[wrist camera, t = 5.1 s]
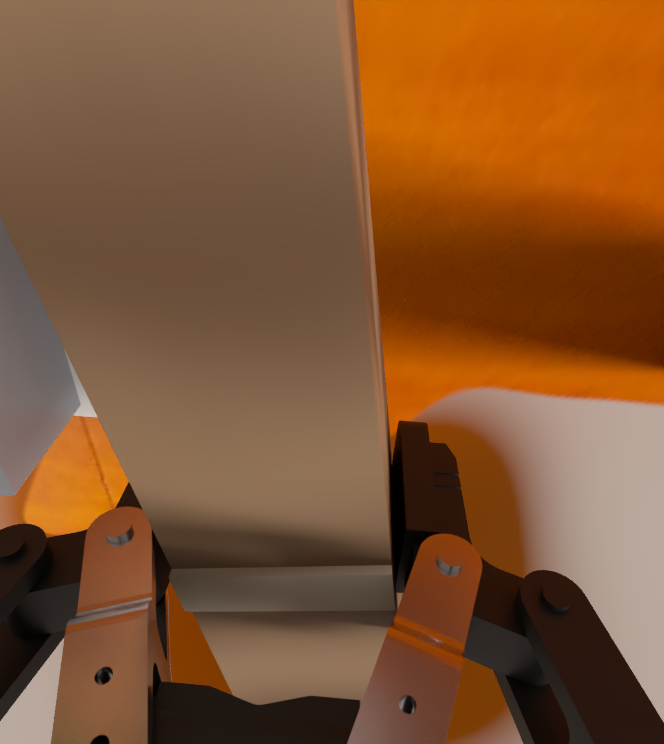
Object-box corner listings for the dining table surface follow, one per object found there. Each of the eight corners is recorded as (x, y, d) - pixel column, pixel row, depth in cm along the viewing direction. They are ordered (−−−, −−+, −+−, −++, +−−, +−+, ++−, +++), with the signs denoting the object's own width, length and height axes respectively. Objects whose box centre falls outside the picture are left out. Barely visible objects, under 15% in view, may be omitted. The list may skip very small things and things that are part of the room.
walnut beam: (26, -249, 8) (-393, -544, 4) (326, -318, 7) (256, -772, 3) (303, 660, 22) (287, 814, 18) (408, 660, 22) (416, 820, 18)
